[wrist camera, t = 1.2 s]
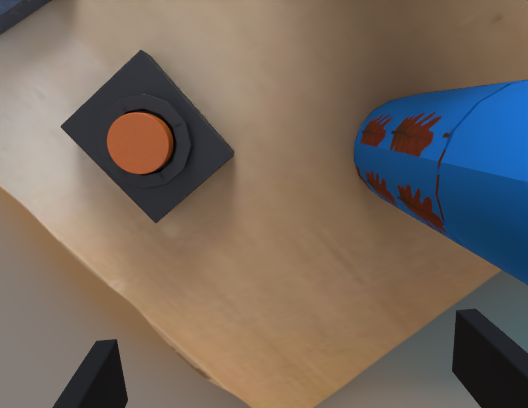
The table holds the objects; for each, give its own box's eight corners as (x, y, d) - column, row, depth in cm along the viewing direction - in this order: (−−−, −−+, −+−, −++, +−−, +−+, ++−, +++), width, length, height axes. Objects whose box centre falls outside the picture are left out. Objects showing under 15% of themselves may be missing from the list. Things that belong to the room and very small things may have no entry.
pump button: (102, 139, 32) (93, 140, 30) (144, 100, 31) (137, 99, 29) (144, 182, 33) (137, 186, 31) (185, 145, 32) (181, 147, 30)
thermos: (379, 218, 40) (595, 381, 15) (333, 132, 37) (502, 161, 13) (470, 166, 39) (850, 251, 14) (428, 74, 36) (802, -10, 12)
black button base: (75, 125, 36) (49, 127, 31) (150, 55, 35) (134, 45, 30) (162, 215, 38) (150, 229, 33) (234, 152, 37) (233, 157, 32)
